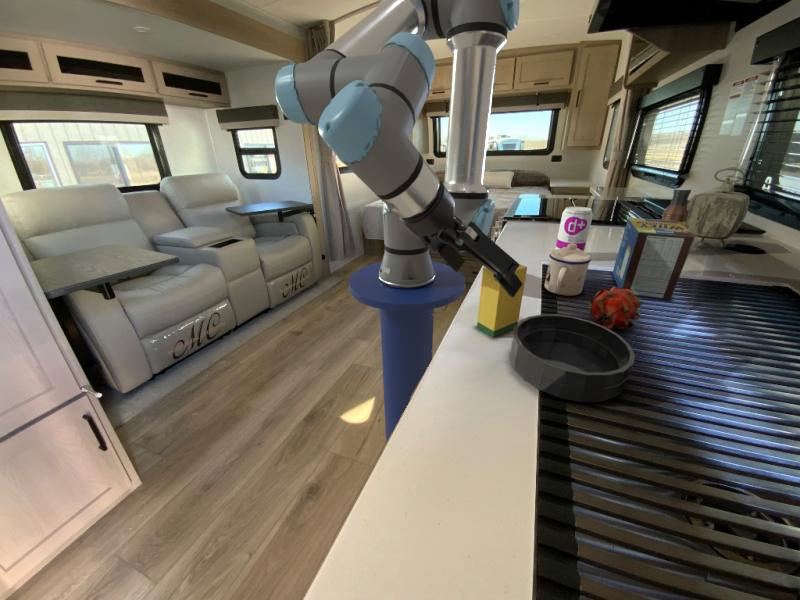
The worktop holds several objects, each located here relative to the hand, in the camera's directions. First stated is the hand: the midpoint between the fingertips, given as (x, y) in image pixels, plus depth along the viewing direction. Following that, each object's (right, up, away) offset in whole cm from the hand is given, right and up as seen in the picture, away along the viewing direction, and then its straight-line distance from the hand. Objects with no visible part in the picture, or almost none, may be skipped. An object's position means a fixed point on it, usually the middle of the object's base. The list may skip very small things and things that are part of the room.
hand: (485, 277), depth 59 cm
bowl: (+12, -15, -4) cm, 20 cm away
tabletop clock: (+88, +14, +54) cm, 104 cm away
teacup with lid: (+25, -2, +23) cm, 34 cm away
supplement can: (+38, +10, +47) cm, 61 cm away
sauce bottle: (+71, +11, +49) cm, 87 cm away
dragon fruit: (+27, -9, +8) cm, 30 cm away
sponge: (+4, -10, +8) cm, 13 cm away
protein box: (+46, -1, +26) cm, 53 cm away
